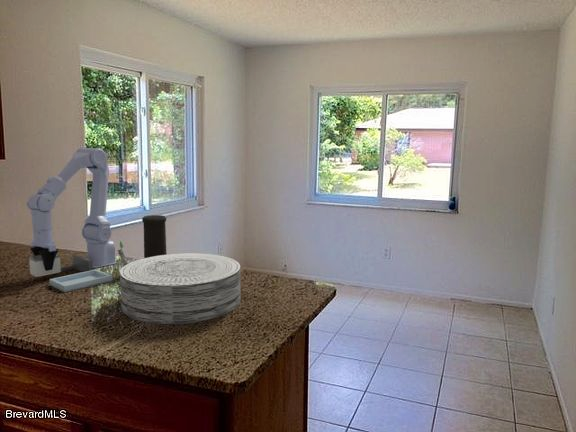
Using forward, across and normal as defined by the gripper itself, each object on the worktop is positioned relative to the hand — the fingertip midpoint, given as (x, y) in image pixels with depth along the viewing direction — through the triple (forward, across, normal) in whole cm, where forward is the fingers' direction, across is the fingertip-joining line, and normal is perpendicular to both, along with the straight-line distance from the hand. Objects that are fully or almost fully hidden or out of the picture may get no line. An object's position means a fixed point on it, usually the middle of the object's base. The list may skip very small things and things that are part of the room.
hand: (45, 268), depth 160 cm
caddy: (+2, 0, 0) cm, 2 cm away
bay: (+4, 0, +8) cm, 9 cm away
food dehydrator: (+4, +51, +17) cm, 54 cm away
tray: (+4, +14, +6) cm, 15 cm away
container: (+4, +16, +33) cm, 37 cm away
